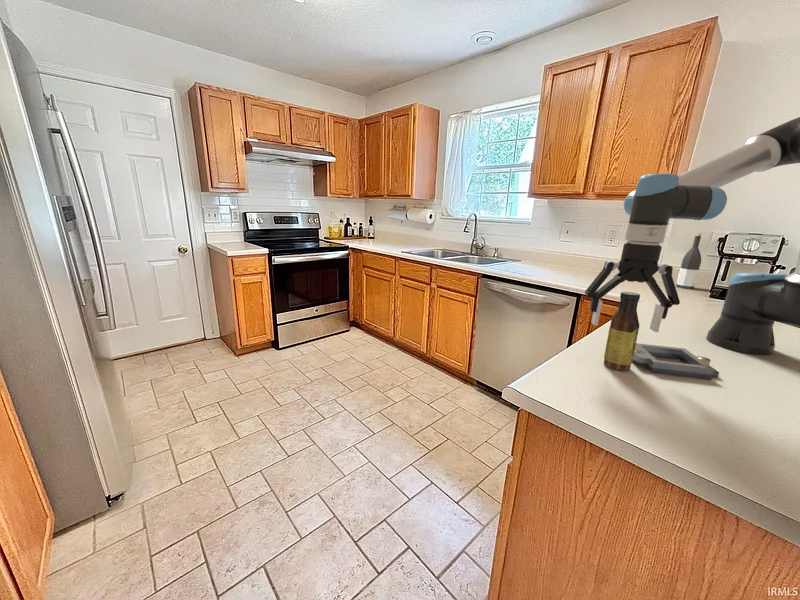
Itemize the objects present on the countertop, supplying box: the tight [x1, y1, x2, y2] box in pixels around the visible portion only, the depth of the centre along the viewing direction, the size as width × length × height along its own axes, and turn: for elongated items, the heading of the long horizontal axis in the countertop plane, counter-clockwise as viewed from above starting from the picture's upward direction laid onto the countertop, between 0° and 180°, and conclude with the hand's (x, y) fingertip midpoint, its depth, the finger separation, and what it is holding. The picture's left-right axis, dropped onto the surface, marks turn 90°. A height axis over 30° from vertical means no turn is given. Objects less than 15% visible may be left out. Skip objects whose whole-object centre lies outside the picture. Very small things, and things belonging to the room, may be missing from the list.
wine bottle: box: [675, 232, 702, 290], centre depth 184 cm, size 8×8×30 cm
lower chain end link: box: [640, 351, 720, 381], centre depth 89 cm, size 16×13×3 cm
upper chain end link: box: [632, 342, 715, 375], centre depth 90 cm, size 16×13×3 cm
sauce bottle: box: [603, 291, 641, 372], centre depth 86 cm, size 7×6×20 cm
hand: (623, 327), depth 86 cm, fingers open, 13 cm apart
